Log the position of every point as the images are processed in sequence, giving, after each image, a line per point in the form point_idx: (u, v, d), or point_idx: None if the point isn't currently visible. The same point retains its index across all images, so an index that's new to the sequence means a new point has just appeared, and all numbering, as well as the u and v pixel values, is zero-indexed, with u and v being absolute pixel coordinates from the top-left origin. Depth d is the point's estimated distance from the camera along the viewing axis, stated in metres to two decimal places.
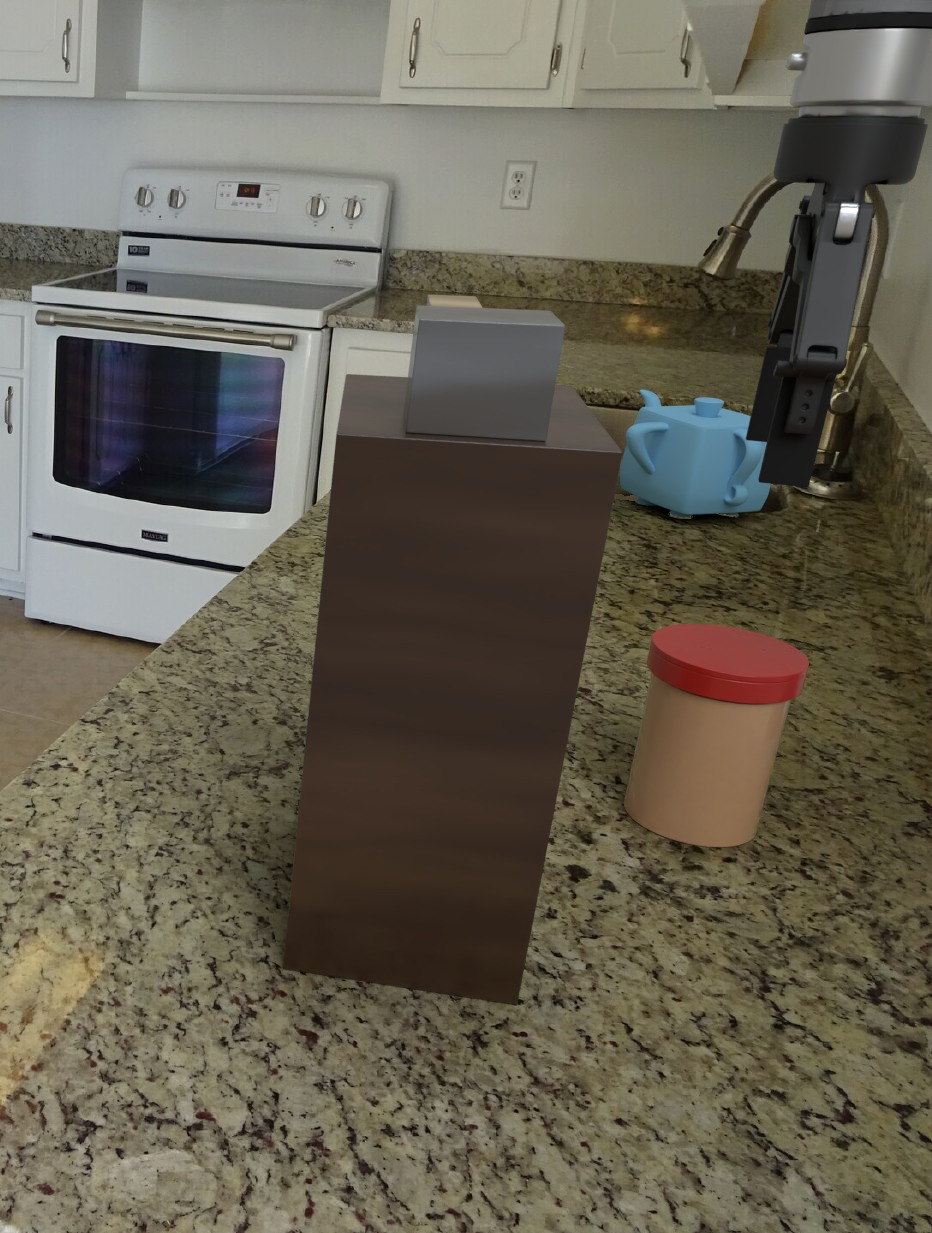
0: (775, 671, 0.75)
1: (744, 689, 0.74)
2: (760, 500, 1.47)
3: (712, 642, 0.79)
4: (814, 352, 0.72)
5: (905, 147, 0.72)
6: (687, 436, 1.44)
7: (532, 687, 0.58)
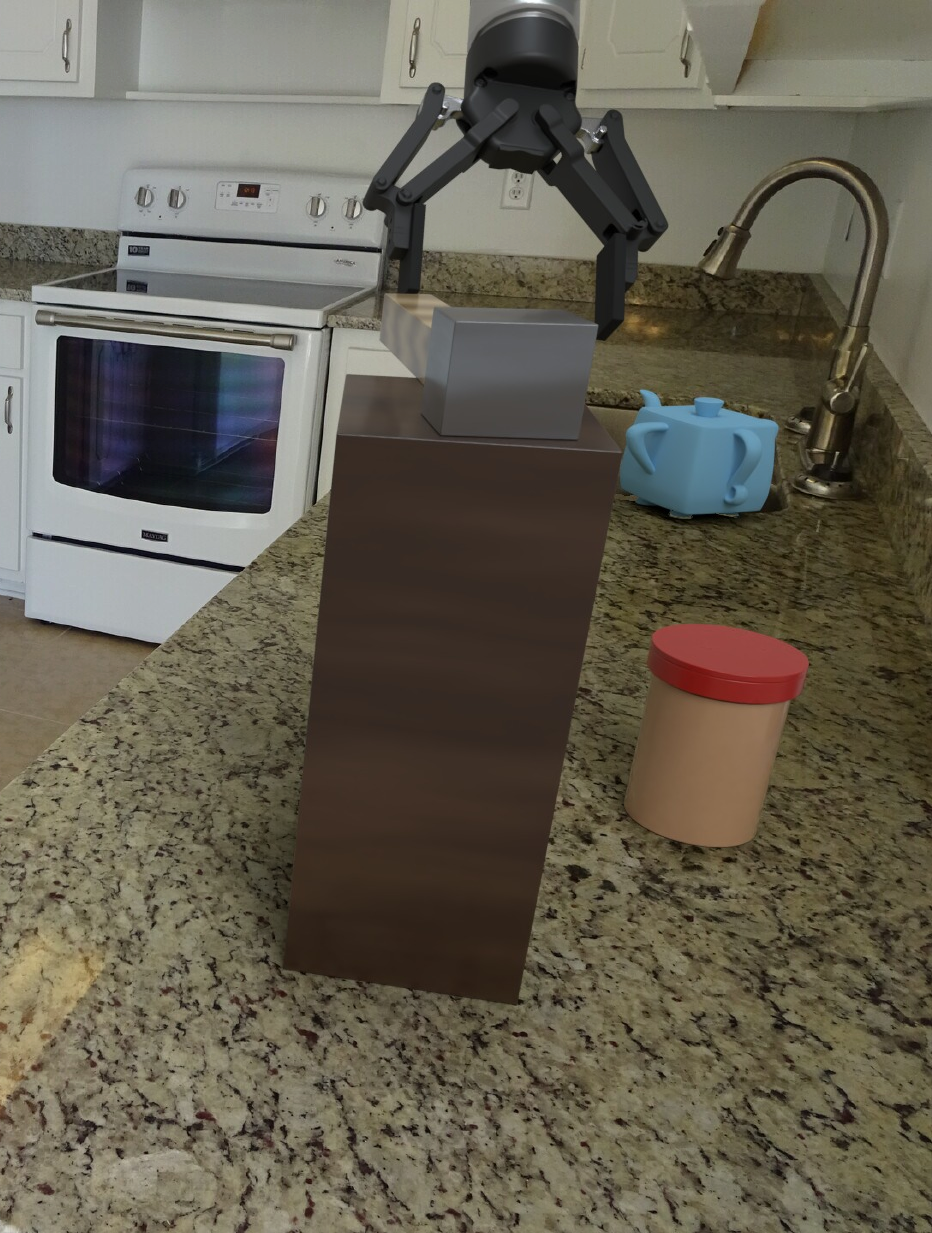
0: (775, 671, 0.75)
1: (744, 689, 0.74)
2: (760, 500, 1.47)
3: (712, 642, 0.79)
4: None
5: (496, 40, 0.85)
6: (687, 436, 1.44)
7: (532, 687, 0.58)
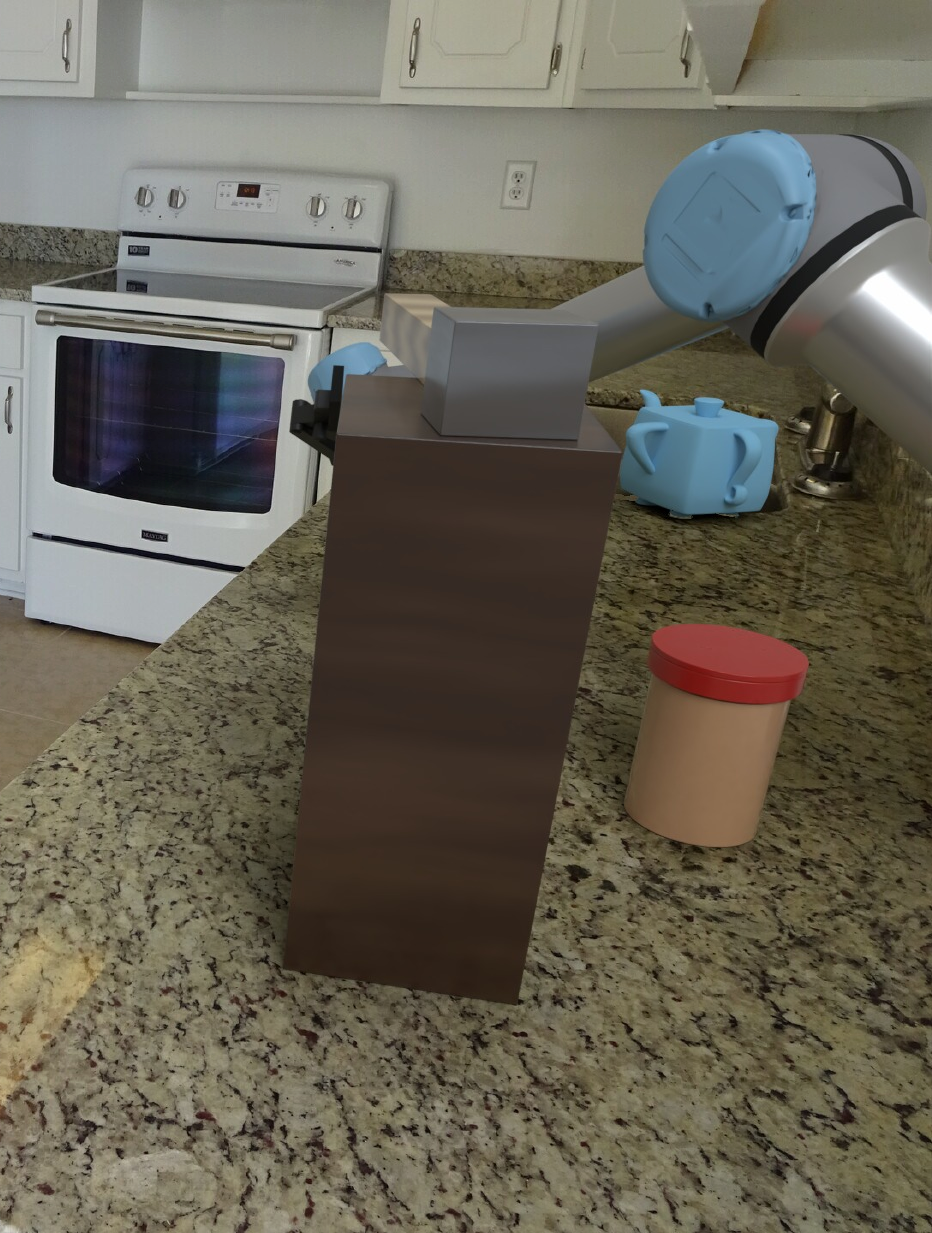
0: (775, 671, 0.75)
1: (744, 689, 0.74)
2: (760, 500, 1.47)
3: (712, 642, 0.79)
4: None
5: None
6: (687, 436, 1.44)
7: (532, 687, 0.58)
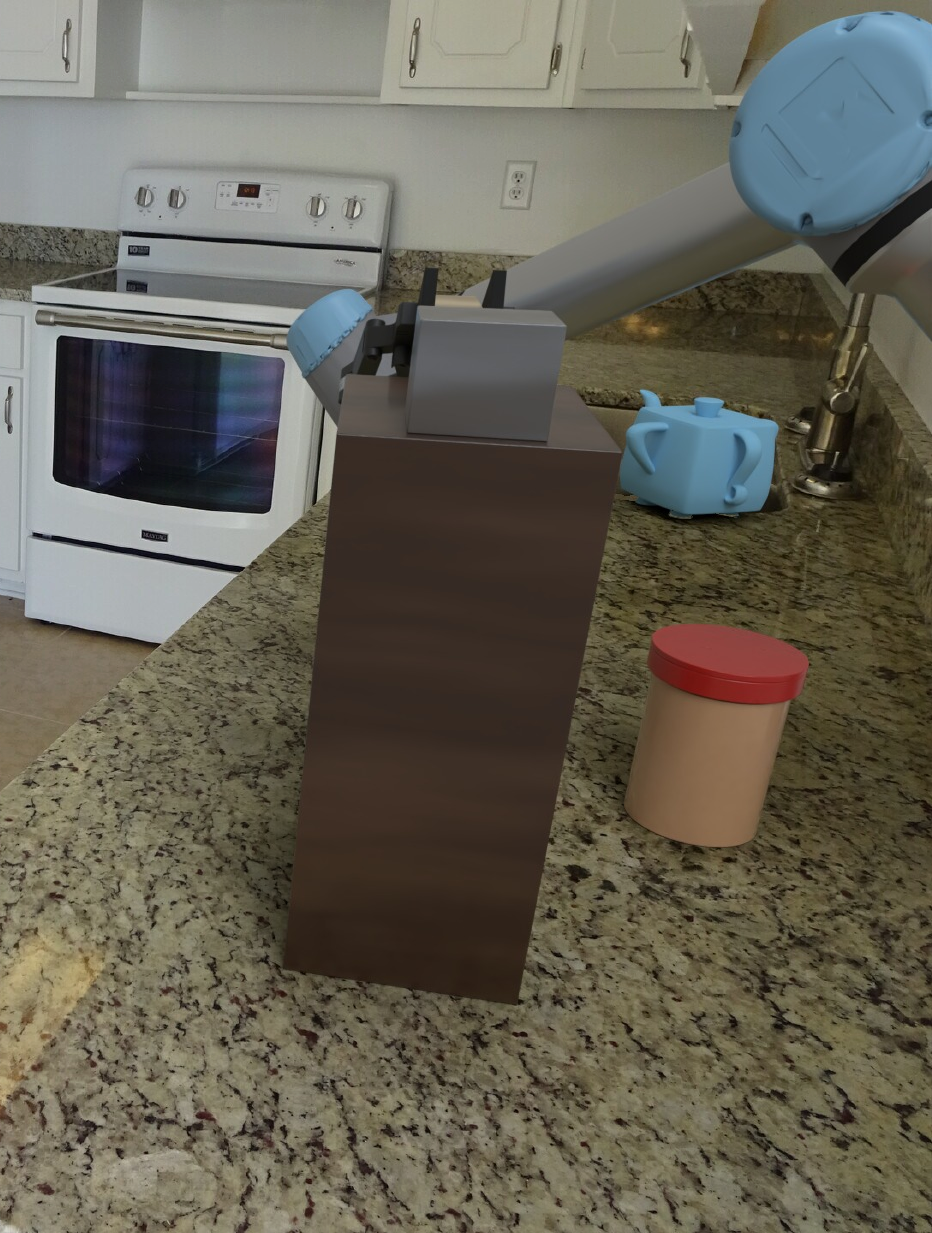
0: (775, 671, 0.75)
1: (744, 689, 0.74)
2: (760, 500, 1.47)
3: (712, 642, 0.79)
4: None
5: None
6: (687, 436, 1.44)
7: (532, 687, 0.58)
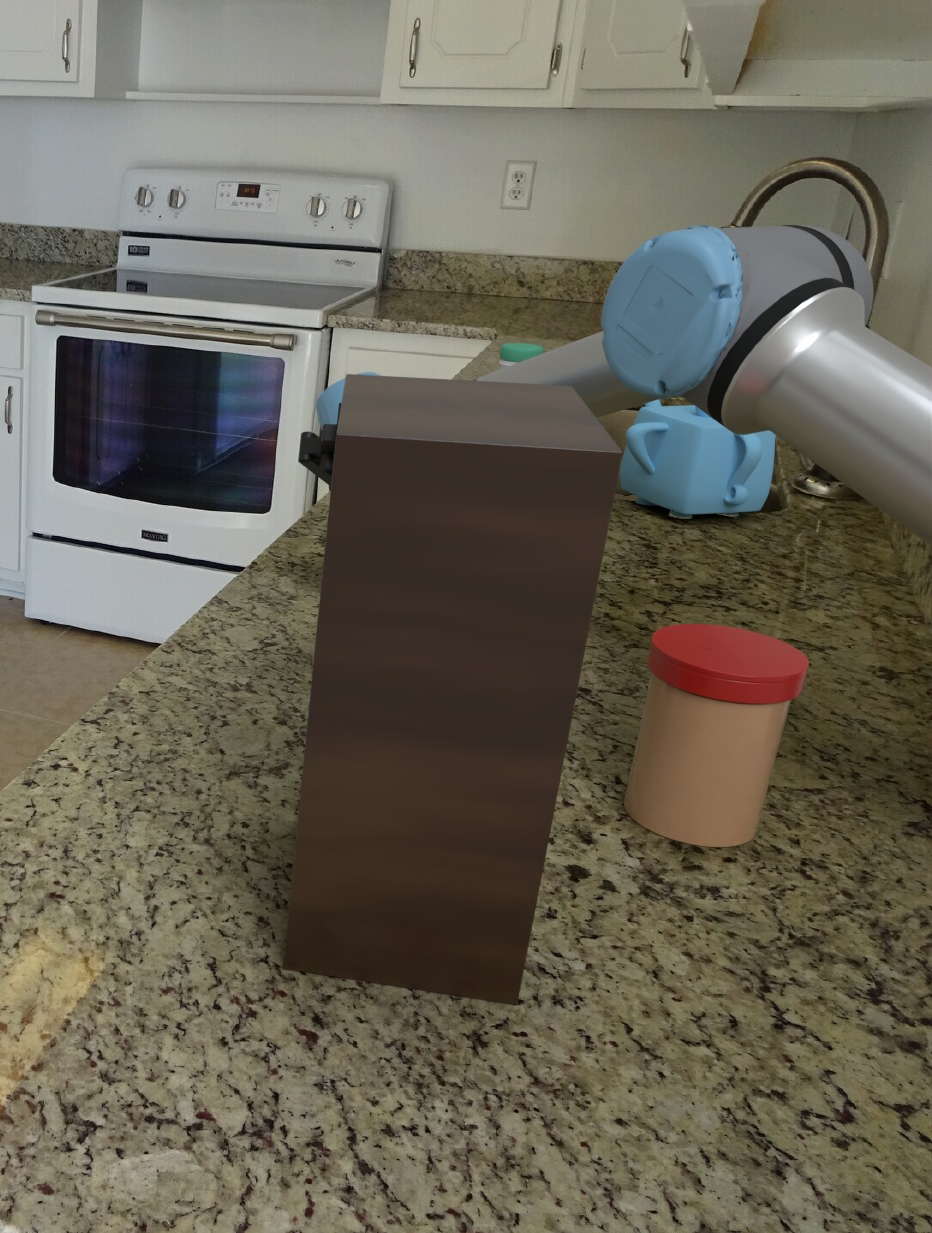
0: (775, 671, 0.75)
1: (744, 689, 0.74)
2: (760, 500, 1.47)
3: (712, 642, 0.79)
4: None
5: None
6: (687, 436, 1.44)
7: (532, 687, 0.58)
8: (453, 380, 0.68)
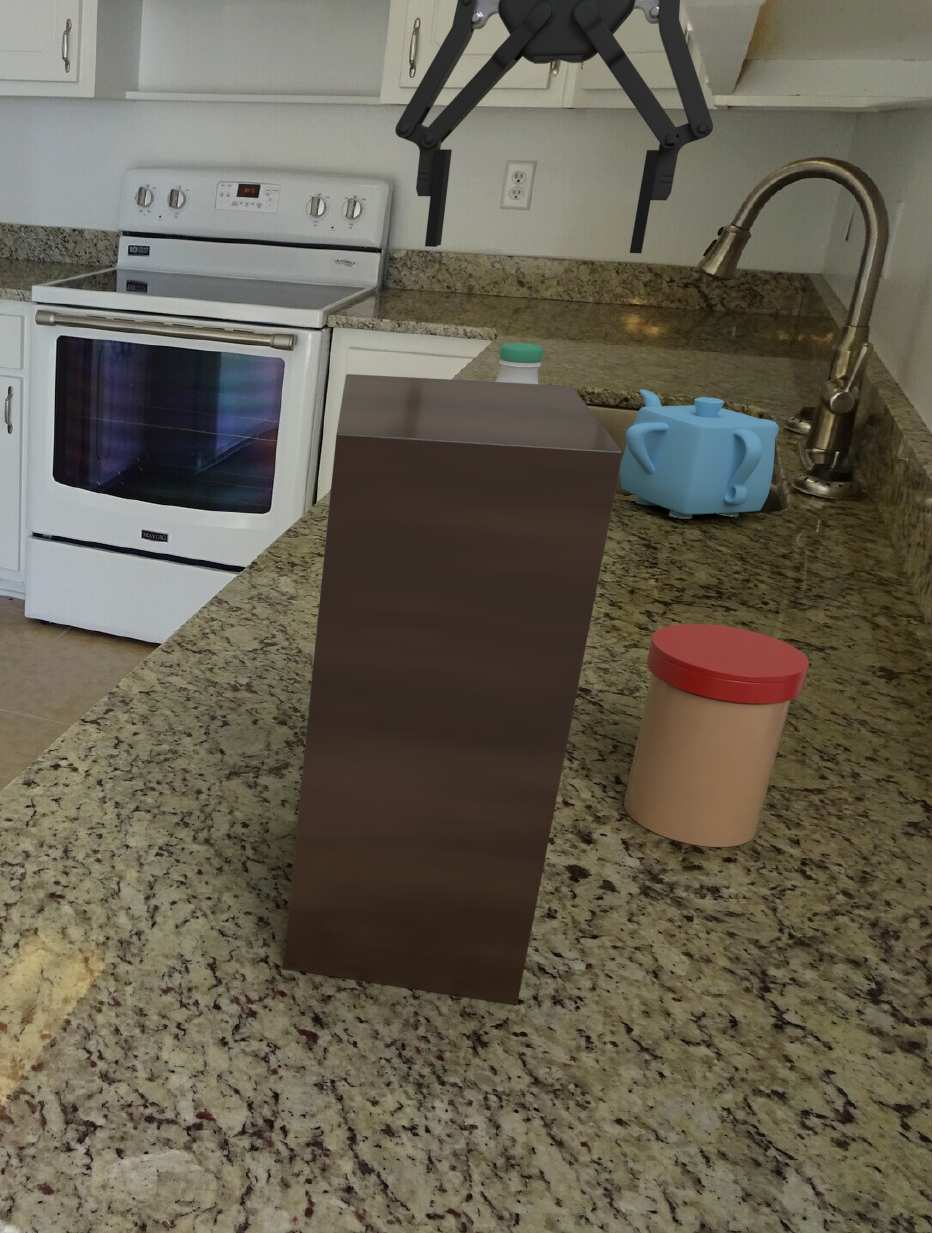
0: (775, 671, 0.75)
1: (744, 689, 0.74)
2: (760, 500, 1.47)
3: (712, 642, 0.79)
4: None
5: None
6: (687, 436, 1.44)
7: (532, 687, 0.58)
8: (453, 380, 0.68)
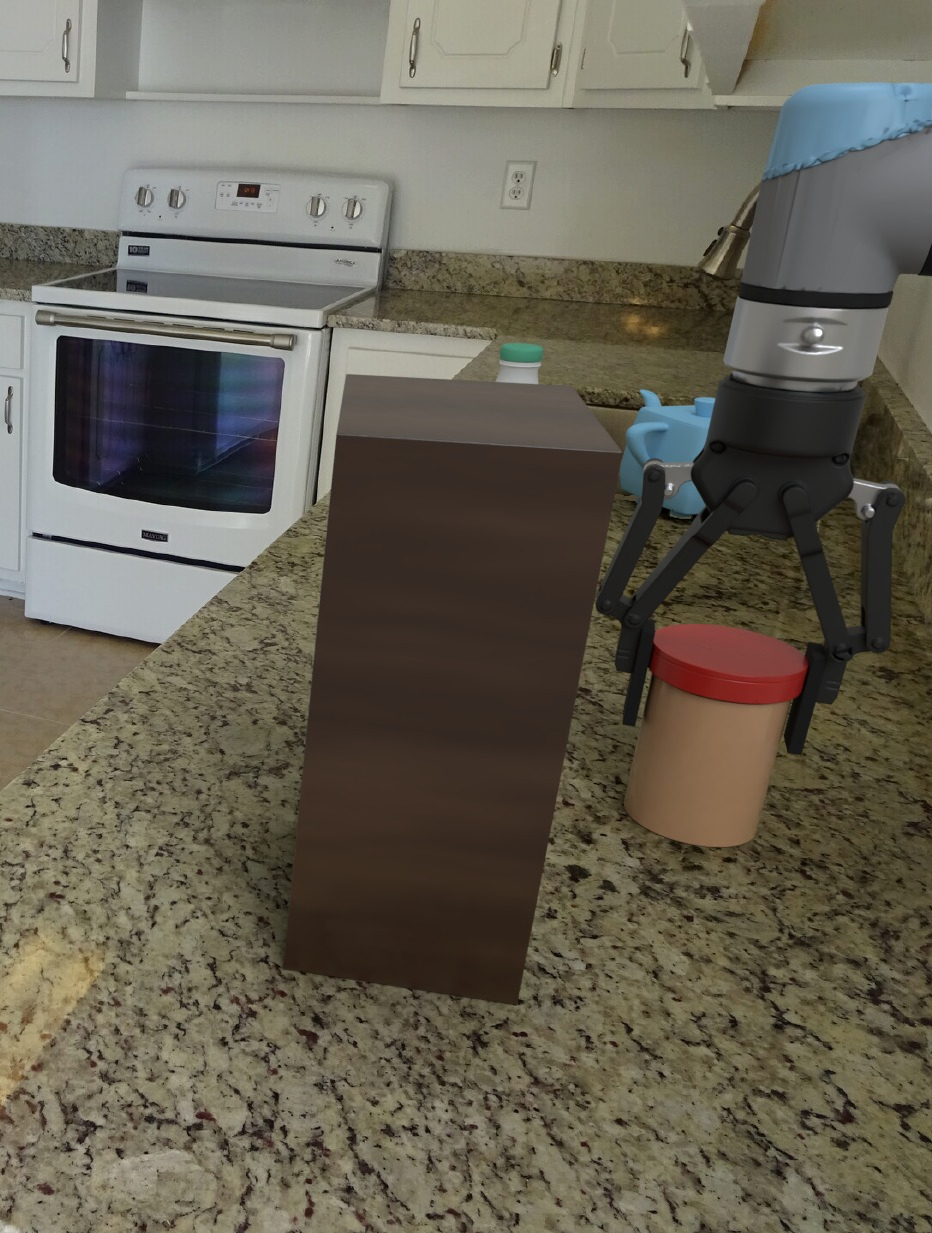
0: (775, 671, 0.75)
1: (744, 689, 0.74)
2: None
3: (712, 643, 0.79)
4: None
5: None
6: (687, 436, 1.44)
7: (532, 687, 0.58)
8: (453, 380, 0.68)
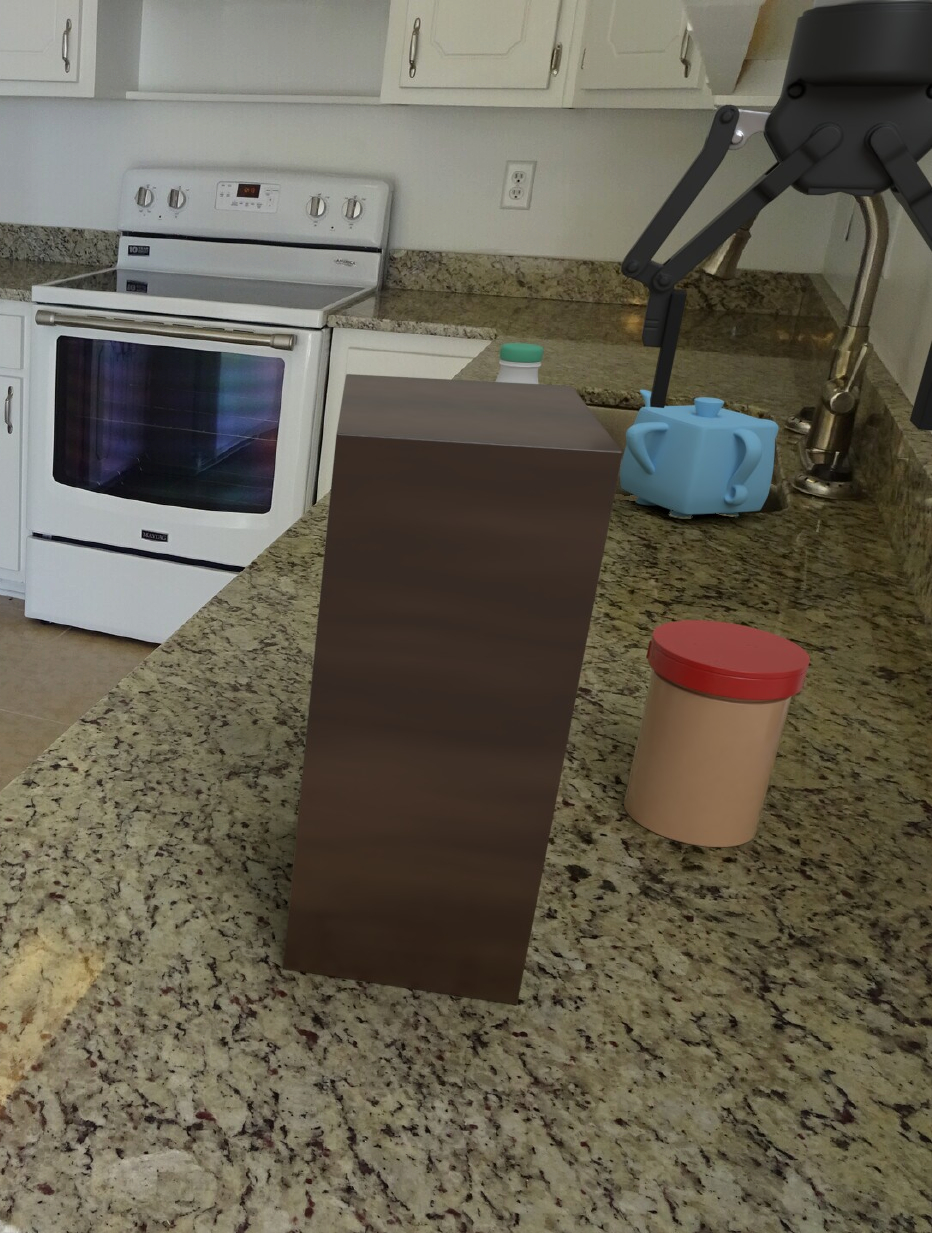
0: (686, 624, 0.81)
1: None
2: (760, 500, 1.47)
3: (745, 651, 0.77)
4: None
5: (819, 41, 0.64)
6: (687, 436, 1.44)
7: (532, 687, 0.58)
8: (453, 380, 0.68)
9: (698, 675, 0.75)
